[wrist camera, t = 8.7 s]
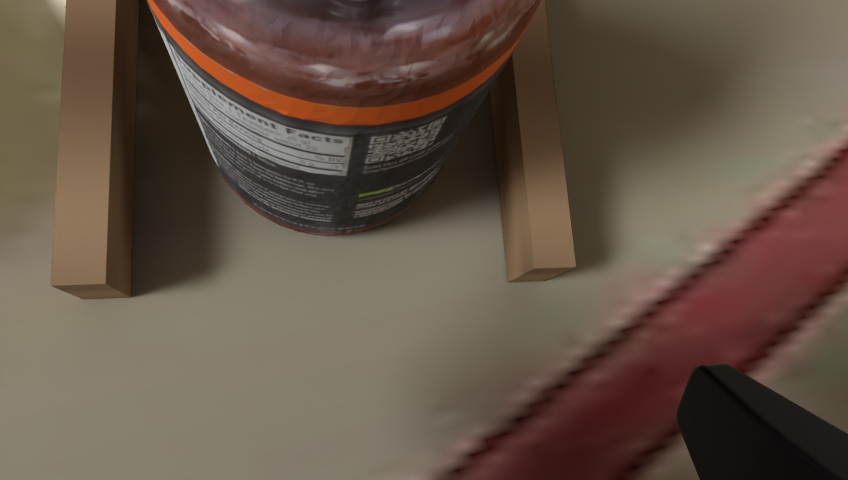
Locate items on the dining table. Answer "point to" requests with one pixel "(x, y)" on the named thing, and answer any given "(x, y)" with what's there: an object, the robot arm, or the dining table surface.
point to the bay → (115, 154)
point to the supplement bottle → (336, 96)
